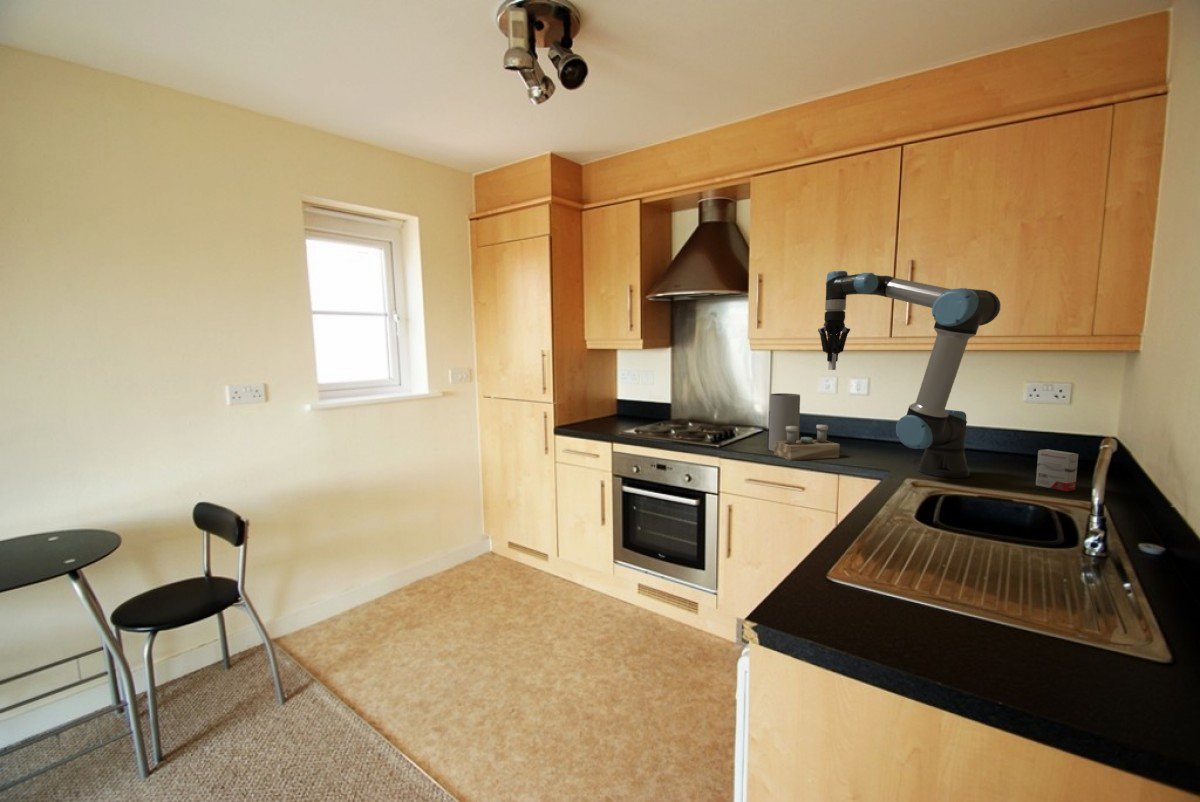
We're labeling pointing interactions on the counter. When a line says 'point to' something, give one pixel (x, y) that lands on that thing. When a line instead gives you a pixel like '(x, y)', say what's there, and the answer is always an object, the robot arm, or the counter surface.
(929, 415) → the robot arm
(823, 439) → the knob right
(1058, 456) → the ink box
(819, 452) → the mount
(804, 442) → the knob middle
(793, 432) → the knob left
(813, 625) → the counter surface
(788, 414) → the cylinder vase
